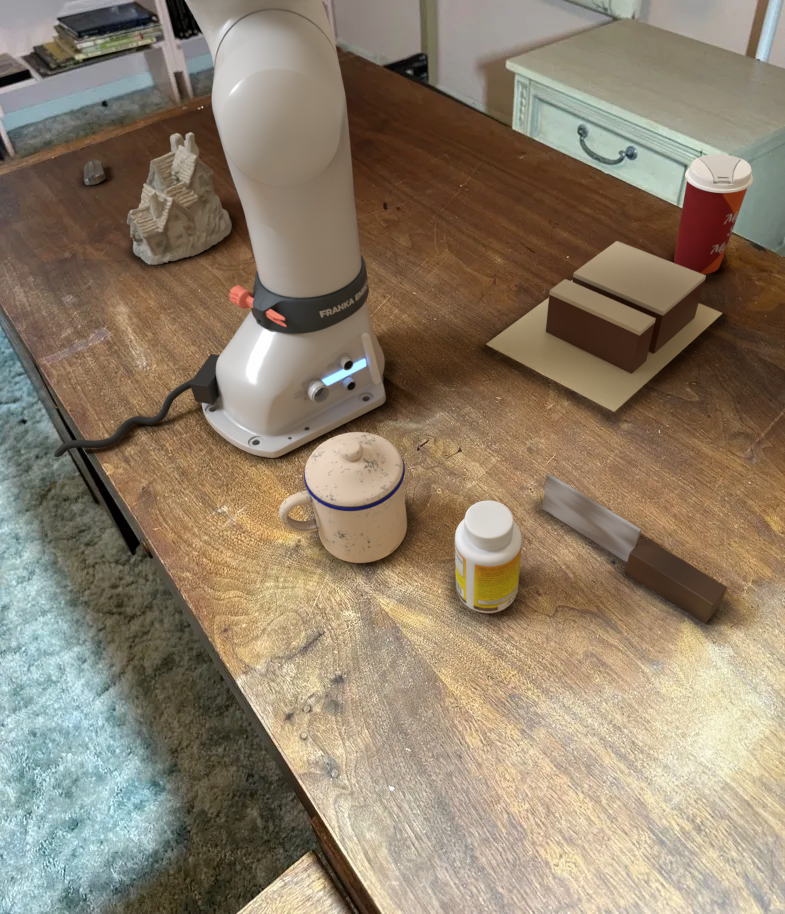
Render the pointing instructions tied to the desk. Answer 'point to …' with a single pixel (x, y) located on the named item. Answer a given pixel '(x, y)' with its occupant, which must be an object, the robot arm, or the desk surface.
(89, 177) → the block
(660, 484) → the desk surface
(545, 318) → the platter
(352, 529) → the teacup with lid
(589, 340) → the tan-topped brown brick
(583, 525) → the knife
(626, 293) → the cake
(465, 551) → the supplement bottle
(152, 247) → the ceramic cottage
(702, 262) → the paper cup
